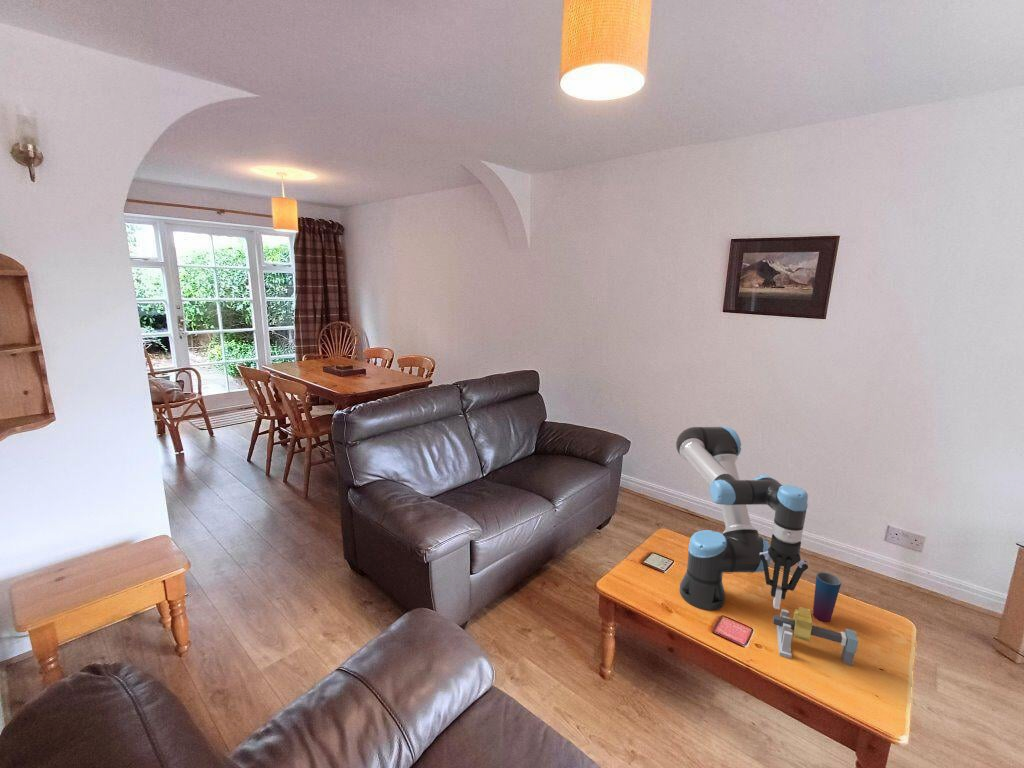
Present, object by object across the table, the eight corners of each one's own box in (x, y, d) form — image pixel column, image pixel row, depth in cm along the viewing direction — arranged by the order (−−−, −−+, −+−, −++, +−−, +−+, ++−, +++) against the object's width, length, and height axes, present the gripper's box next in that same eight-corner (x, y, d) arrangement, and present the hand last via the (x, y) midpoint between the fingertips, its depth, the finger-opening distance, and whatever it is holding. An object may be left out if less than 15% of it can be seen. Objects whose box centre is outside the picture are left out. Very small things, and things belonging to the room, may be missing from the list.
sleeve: (793, 637, 139) (797, 612, 137) (791, 626, 143) (796, 601, 141) (809, 641, 137) (813, 616, 135) (806, 630, 142) (811, 605, 140)
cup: (826, 627, 149) (833, 587, 146) (805, 614, 155) (812, 575, 151) (838, 620, 152) (845, 581, 149) (817, 607, 158) (823, 569, 155)
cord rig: (771, 653, 139) (775, 627, 137) (769, 624, 150) (773, 600, 148) (856, 679, 130) (861, 651, 128) (846, 646, 141) (851, 621, 139)
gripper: (762, 538, 136) (752, 607, 141) (814, 549, 130) (802, 620, 135) (761, 526, 142) (752, 592, 148) (810, 536, 137) (799, 604, 142)
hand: (776, 606), depth 141 cm, fingers closed
